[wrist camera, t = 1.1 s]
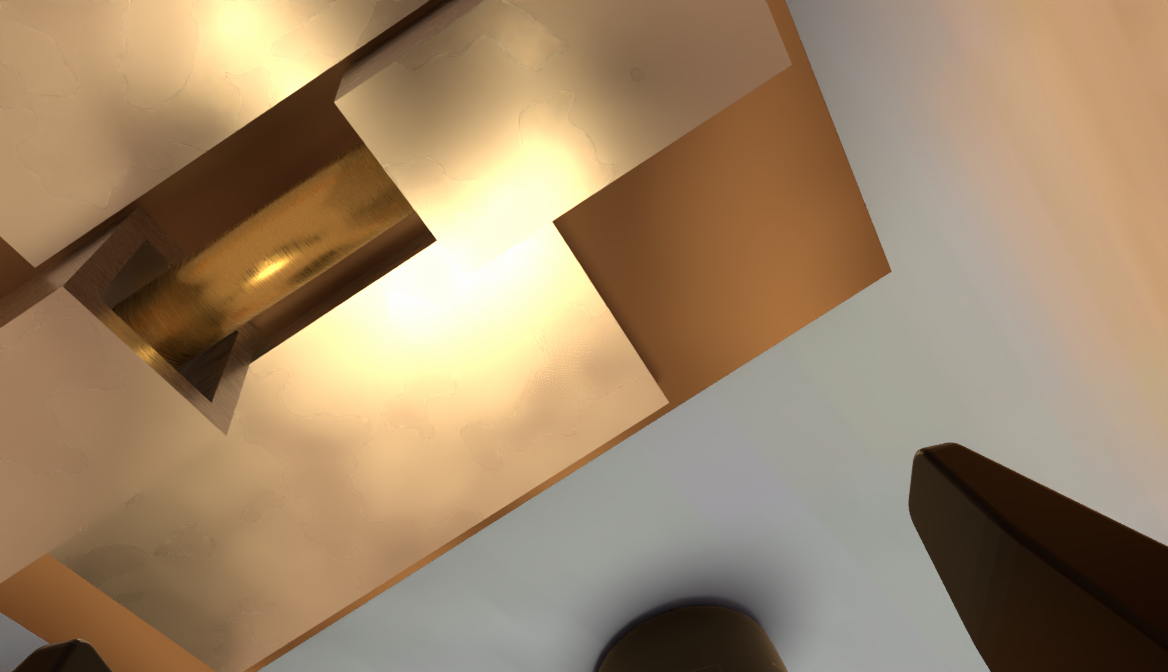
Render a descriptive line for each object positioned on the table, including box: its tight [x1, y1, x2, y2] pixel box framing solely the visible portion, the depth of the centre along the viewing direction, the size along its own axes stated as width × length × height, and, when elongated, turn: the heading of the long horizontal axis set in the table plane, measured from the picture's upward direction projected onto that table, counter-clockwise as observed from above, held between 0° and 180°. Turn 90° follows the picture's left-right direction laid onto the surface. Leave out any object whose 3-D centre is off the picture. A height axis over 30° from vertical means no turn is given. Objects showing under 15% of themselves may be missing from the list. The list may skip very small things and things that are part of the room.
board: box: [0, 0, 891, 672], centre depth 17 cm, size 24×20×1 cm
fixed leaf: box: [0, 205, 669, 672], centre depth 17 cm, size 14×11×4 cm
